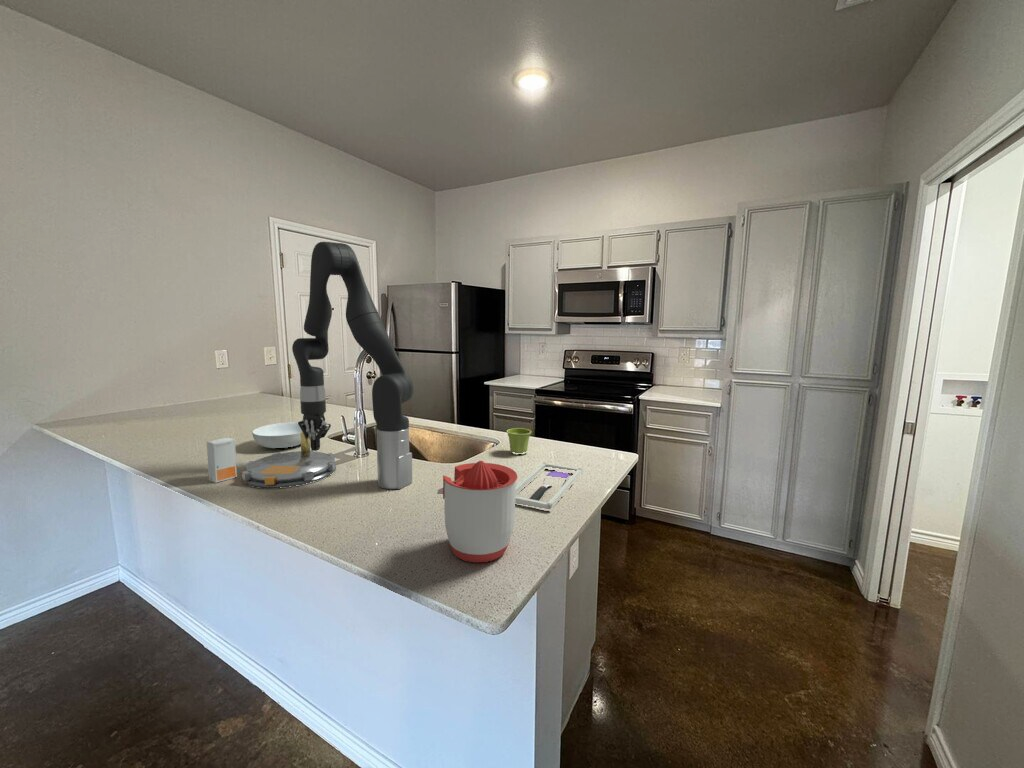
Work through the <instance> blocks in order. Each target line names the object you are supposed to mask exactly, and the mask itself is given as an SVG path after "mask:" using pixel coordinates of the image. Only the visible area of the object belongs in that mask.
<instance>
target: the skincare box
mask: <svg viewBox="0 0 1024 768" xmlns="http://www.w3.org/2000/svg"><path fill="white" fill-rule="evenodd" d="M206 451H207V452H206V454H207V467H208V468H207V469H208V480H209V481H210V482H213V483H215V484H217V483H221V482H223V481H224V482H225V481H227V480H228V481H229V480H232V479H236V478H235V477H237V478H238V476H237V475H238V474H237V473H238V472H237V454H236V440H235V439H234V438H231V437H224V438H218V439H214V440H209V441H206Z"/></svg>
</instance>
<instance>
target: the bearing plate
mask: <svg viewBox="0 0 1024 768" xmlns="http://www.w3.org/2000/svg"><path fill="white" fill-rule="evenodd" d="M333 462H335V461H333ZM335 470H336V471H337V467H336V468H335V469H334V470H333V471H327V472H325V473H323V474H321V475H318V476H315V477H314V479H311V480H307V481H304V480H300V481H293V482H285V483H276V484H275V485H265V483H262V482H256V481H253V480H246V481H245V480H244V479H242V481H243V483H244V482H245V483H246V484H245V483H244V484H245V485H247V486H249V485H250V486H249V487H251V486H254V487H253V488H256V487H260V488H259V489H264V488H279V489H281V488H280V487H289V486H296V485H302V484H306V483H310V482H313V481H317V480H320V479H323V478H325V477H327V476H329V475H330V474H332V473H333V472H334V471H335ZM336 471H335V472H336ZM335 472H334V473H335ZM334 473H333V474H334ZM333 474H332V475H333ZM330 476H331V475H330ZM330 476H329V477H330ZM327 478H328V477H327ZM325 479H326V478H325ZM323 480H324V479H323ZM320 481H321V480H320ZM317 482H318V481H317ZM302 486H303V485H302Z"/></svg>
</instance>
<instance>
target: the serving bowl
mask: <svg viewBox="0 0 1024 768" xmlns="http://www.w3.org/2000/svg"><path fill="white" fill-rule="evenodd" d="M298 422H299V421H289V422H278V423H271V424H265V425H263V426H259V427H256V428H255V429H253V430H252V432H251V434H252V437H253V439H254V441H255V443H257V444H258V445H259V446H261V447H264V448H268V449H275V448H285V449H289V448H288V447H291V448H294V447H297V446H299V445H300V446H301V438H300V433H301V432H302V430H301V428H300V426H299V425H298ZM306 431H307V430H306ZM293 446H294V447H293Z"/></svg>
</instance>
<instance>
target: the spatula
mask: <svg viewBox="0 0 1024 768" xmlns="http://www.w3.org/2000/svg"><path fill="white" fill-rule="evenodd" d="M546 476H552V477H561V478H567V477H568V478H569V476H570V474H567V473H563V472H557V471H550V472H548V473H547V474H546ZM568 478H567V479H568ZM548 487H551V486H550V485H548V484H543V485H541V486H540V487H539V488H537V489H536V490H535V491H534V493H533V494H532V495H531V496H530V497H529V499H532V500H538V499H539V498H540V497H541V496H542V497H543V495H545V494H544V493H546V491H547V489H548ZM542 497H541V498H542ZM541 498H540V499H541ZM540 499H539V500H540ZM539 500H538V501H539Z"/></svg>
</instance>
